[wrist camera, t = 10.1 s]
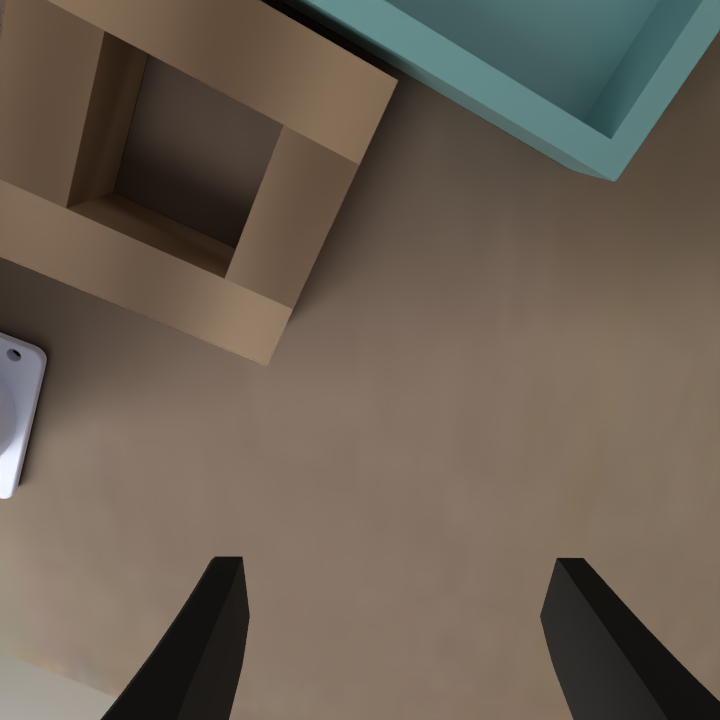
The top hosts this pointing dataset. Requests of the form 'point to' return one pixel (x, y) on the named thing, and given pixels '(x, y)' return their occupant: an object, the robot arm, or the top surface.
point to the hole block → (108, 138)
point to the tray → (541, 63)
